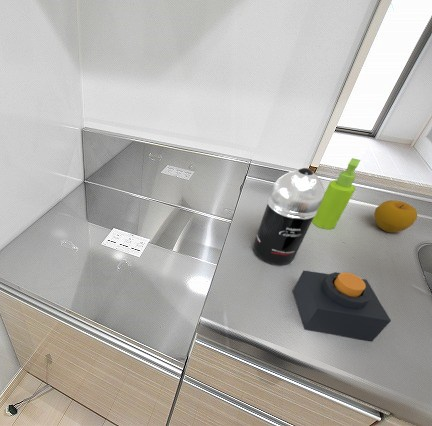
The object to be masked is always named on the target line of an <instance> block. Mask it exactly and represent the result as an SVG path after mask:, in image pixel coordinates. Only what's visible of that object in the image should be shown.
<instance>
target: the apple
mask: <svg viewBox="0 0 432 426" xmlns="http://www.w3.org/2000/svg"><path fill="white" fill-rule="evenodd" d="M373 217H374V222H375V225H376V226H377V227H378V228H380V230H382V231H384V232H387V233H391V234H392V233H394V234H395V233H400V232H403V231H405V230H407V229H409V228H410V227H411V226H413V225H414V223H415V222H416V220H417V219H418V212H417V209H416V208H415V207H414V206H412V205H410V204H409V203H407V202H404V201H401V200H393V199H392V200H391V199H390V200H386V201H384V202H381V203H380V204H379V205H378V206H377V207H376V208H375V210H374V212H373Z"/></svg>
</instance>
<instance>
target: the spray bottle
mask: <svg viewBox="0 0 432 426" xmlns="http://www.w3.org/2000/svg"><path fill="white" fill-rule="evenodd" d="M324 194H325V187H324V185H323V182H322V180H321V179H320V178H319V177H318V176H317V174H316V173H314V172H313V170H312V169H310V168H308V167H301V168H299V169H295V170H291V171H288V172H287V173H285V174H283V175H281V176H280V177H279V178H278V179H277V180H276V181H275V182H274V184H273V186H272V189H271V193H270V195H269V197H268V199H267V204H266V206H265V210H264V212H263V215H262V218H261V221H260V224H259V227H258V229H257V233H256V235H255V238H254V241H253V244H252V248H253V251H254V253H255V255H256V256H257V257H258V258H259V259H260V260H262V261H264V262H266V263H268V264H272V265H277V266H283V265H288V264H290V263H291V262H293V261H294V260H295V257H296V255H297V253H298V252H299V249H300V247H301V245H302V243H303V241H304V238H305V237H306V235H307V233H308V230H309V228H310V227H311V224H312V223H313V222H312V220H313V218H314V217H315V216H316V214H317V211H318V208H319V206H320V204H321V202H322V200H323V198H324Z"/></svg>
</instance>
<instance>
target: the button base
mask: <svg viewBox="0 0 432 426" xmlns="http://www.w3.org/2000/svg"><path fill="white" fill-rule="evenodd" d="M340 273H341V272H337V271H336V272H332V273H324V272H317V271H310V270H302V272H301V274H300V276H299V278H298V280H297V281H296V283H295V285H294V287H293V289H292V295H293V298H294V301H295V304H296V307H297V311H298V314H299V317H300V321H301V323H302V326H303V330H306V331H311V332H317V333H322V334H327V335H333V336H337V337H343V338H349V339H354V340H360V341H365V342H370V343H372V342H374V340H375V339H376V338H377V337H378V336H379V335H380V334H381V332H382V331H384V329H386V327H387V326H388V325H389V323H391V322H392V320H391V318H390V317H389V315H388V313H387V312H386V309H385V308H384V306H383V305H382V303H381V301H380V299H379V298H378V297H377V296H378V295H376V293H375V292H374V290H373V288H372V286H371V284H370V283H369V281H368V280H367V279H365V278H361V279H362V280H363V281H364V282H365V285H366V288H365V289H364V290H363V292H362V293H361V295H360V296H358V297H351V296H348V295H346V294H343V293H341V292H340V291H339V290H338V289H336V288H335V286H334V281H335V280H336V278H337V277H338V275H339V274H340Z"/></svg>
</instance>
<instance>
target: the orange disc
mask: <svg viewBox="0 0 432 426" xmlns="http://www.w3.org/2000/svg"><path fill="white" fill-rule="evenodd" d="M339 273H340V274H339V275H338V277H337V278H336V280H335V281H334V286H335V288H336V289H338V290H339V291H340V292H341V293H343V294H346V295H348V296H351V297H358V296H360V295H361V293H362V292H363V290H364V289H365V288H366V285H365V282H364V281H363V280H362V279H363V278H361V277H360V276H358V275H356V274H354V273H351V272H339Z"/></svg>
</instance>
